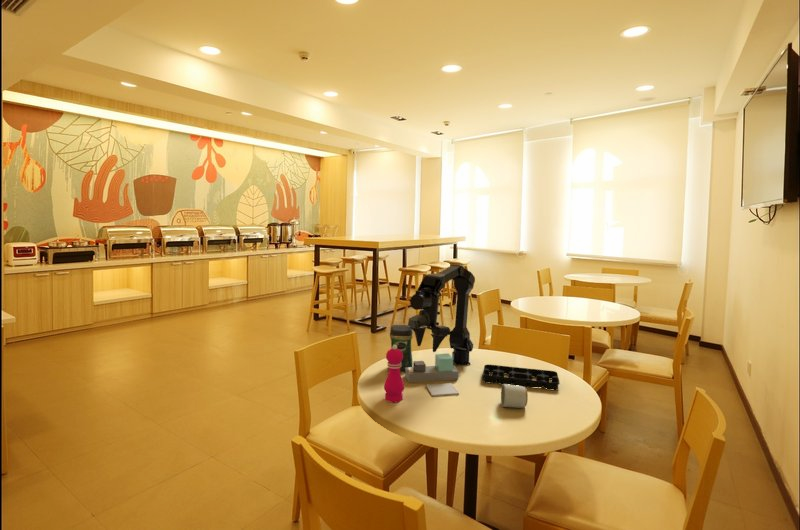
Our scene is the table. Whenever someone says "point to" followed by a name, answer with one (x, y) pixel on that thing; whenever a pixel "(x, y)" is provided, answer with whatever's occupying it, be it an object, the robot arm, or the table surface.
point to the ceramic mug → (513, 396)
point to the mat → (442, 389)
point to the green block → (443, 362)
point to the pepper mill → (394, 376)
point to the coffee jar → (402, 343)
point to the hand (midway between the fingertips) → (426, 348)
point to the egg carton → (521, 376)
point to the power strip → (428, 373)
